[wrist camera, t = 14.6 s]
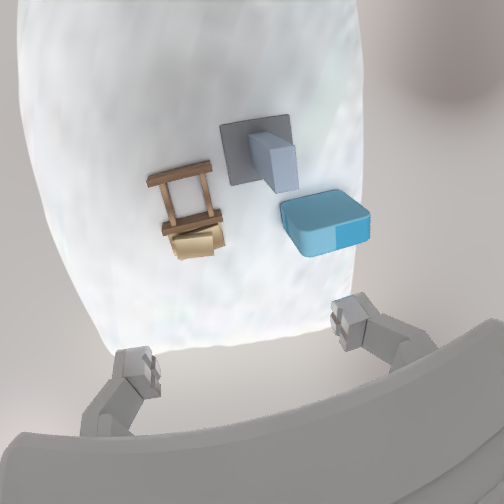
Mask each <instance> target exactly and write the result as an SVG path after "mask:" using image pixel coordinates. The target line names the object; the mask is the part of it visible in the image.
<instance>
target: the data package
mask: <svg viewBox="0 0 504 504" xmlns="http://www.w3.org/2000/svg"><path fill="white" fill-rule="evenodd" d="M280 208H281V214H282V221H283V227H284V229H285V231H286V232H287V234H288V235H289V237H290V238H291V240H292V241H293V243H294V244H295V246H296V247H297V249H298V250H299V252H300V253H301V254H302V255H303V256H305V257H315V256H318V255H322V254H325V253H329V252H332V251H336V250H339V249H342V248H346V247H349V246H352V245H356V244H359V243H362V242H366V241H367V240H368V239H369V238H370V212H369V211H368V210H367V209H365V208H364V207H363V206H362V205H360V204H359V203H358V202H356V201H355V200H354V199H352V198H351V197H350V196H348V195H347V194H346V193H344V192H343V191H340V190H332V191H327V192H323V193H318V194H314V195H310V196H305V197H301V198H297V199H293V200H289V201H285V202H283V203H282V204H281V205H280Z"/></svg>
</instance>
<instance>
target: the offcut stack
mask: <svg viewBox="0 0 504 504" xmlns="http://www.w3.org/2000/svg"><path fill="white" fill-rule="evenodd" d="M168 237H169V240H170V243H171V246H172V249H173V252H174V255H175V256H177V257H178V260H179V259H180V260H181V261H182V260H185V259H187V258H196V257H204V256H213V255H214V249H217V248H220V247H223V246H225V242H224V237H223V233H222V228H221V224H220V222H219V223H215V224H211V225H206V226H202V227H198V228H194V229H190V230H186V231H182V232H178V233H174V234H170V235H168Z"/></svg>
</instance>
